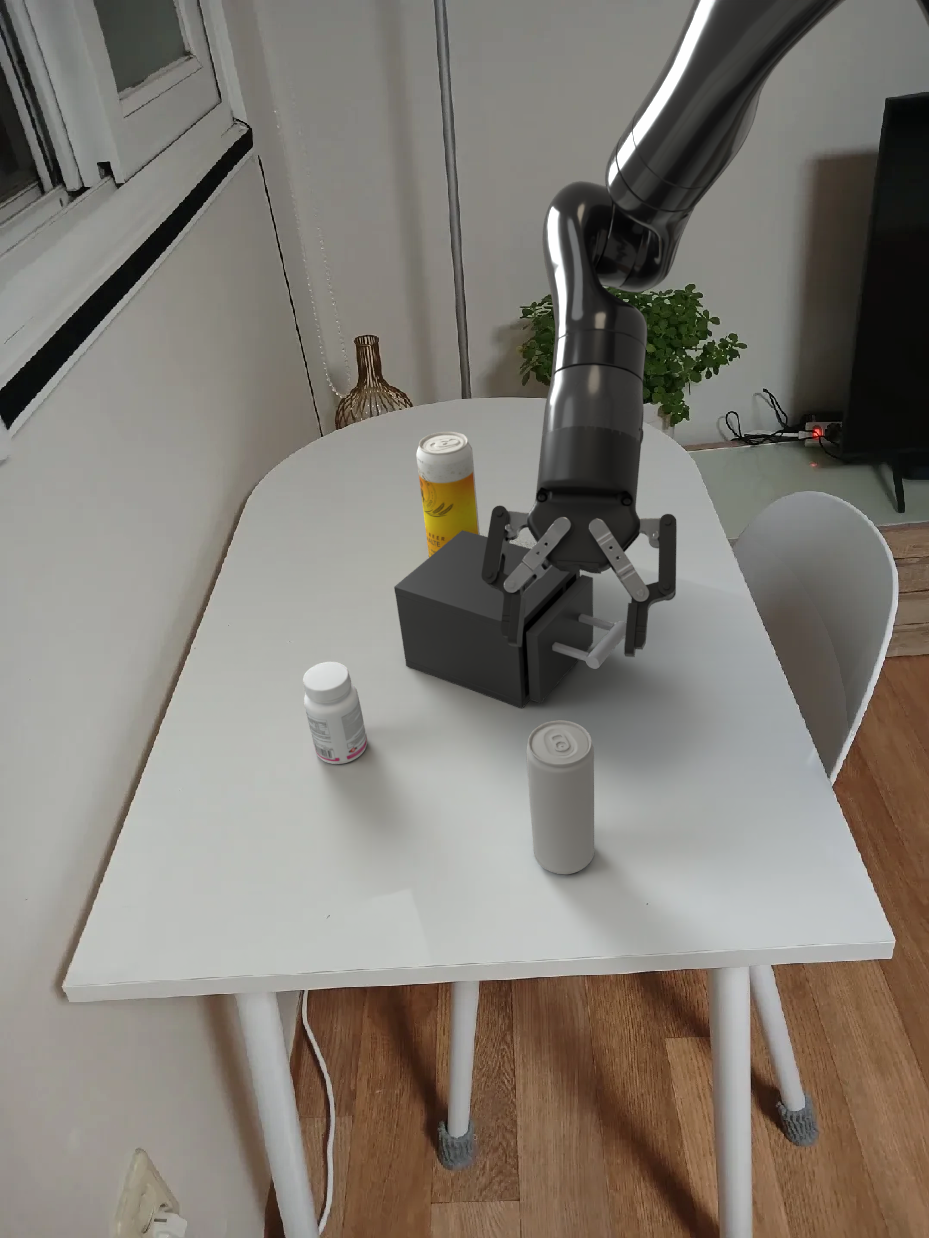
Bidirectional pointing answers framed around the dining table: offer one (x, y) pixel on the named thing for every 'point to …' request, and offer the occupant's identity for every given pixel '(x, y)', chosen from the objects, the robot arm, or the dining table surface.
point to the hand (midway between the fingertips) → (571, 650)
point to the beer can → (447, 487)
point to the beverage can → (561, 795)
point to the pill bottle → (334, 713)
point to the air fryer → (468, 618)
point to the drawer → (565, 638)
